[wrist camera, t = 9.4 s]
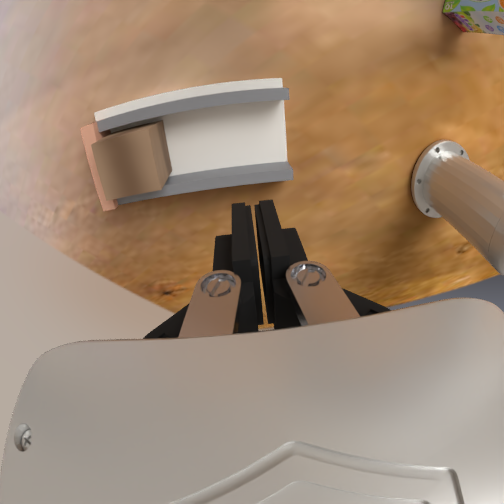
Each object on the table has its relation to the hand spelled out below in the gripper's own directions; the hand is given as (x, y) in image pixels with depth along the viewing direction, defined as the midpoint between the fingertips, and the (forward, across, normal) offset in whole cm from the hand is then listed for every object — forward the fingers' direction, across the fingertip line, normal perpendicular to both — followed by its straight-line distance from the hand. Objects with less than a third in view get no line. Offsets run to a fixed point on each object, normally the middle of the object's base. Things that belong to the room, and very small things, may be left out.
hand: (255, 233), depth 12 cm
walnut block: (+20, +11, -1) cm, 23 cm away
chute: (+21, +6, 0) cm, 22 cm away
